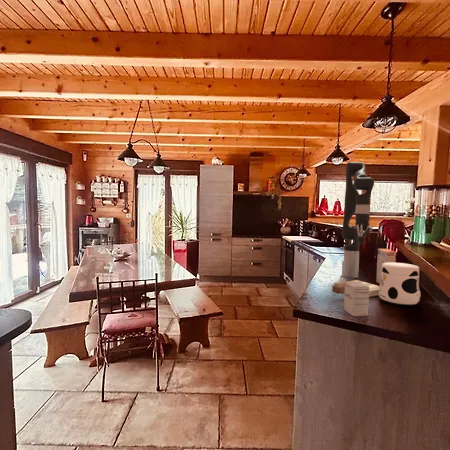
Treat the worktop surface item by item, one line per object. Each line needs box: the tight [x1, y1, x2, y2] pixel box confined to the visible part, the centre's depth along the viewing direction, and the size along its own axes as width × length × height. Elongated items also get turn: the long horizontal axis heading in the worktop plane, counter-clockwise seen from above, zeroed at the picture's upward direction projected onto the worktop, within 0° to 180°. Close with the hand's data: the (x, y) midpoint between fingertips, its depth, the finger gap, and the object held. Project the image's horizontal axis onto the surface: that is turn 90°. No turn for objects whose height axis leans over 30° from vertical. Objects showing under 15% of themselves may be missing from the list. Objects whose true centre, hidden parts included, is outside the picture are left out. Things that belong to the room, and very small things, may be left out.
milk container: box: [378, 262, 422, 307], centre depth 143 cm, size 17×17×18 cm
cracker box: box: [375, 248, 397, 286], centre depth 175 cm, size 14×6×21 cm, turn 168°
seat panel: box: [333, 279, 380, 298], centre depth 163 cm, size 19×18×3 cm
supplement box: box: [343, 281, 370, 317], centre depth 128 cm, size 7×7×13 cm
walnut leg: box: [331, 284, 345, 295], centre depth 150 cm, size 16×4×3 cm, turn 113°
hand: (361, 243), depth 172 cm, fingers closed
